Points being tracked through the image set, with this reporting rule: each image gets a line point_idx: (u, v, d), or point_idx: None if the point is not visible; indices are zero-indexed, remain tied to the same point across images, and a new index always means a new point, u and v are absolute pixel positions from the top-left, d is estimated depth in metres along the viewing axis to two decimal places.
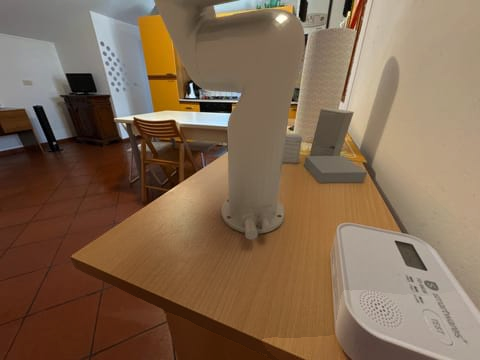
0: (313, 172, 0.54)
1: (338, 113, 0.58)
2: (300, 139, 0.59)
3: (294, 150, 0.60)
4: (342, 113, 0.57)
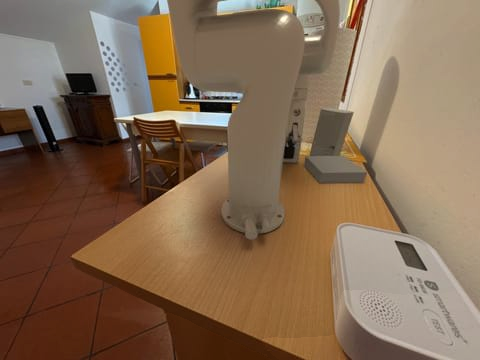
0: (313, 172, 0.54)
1: (338, 113, 0.58)
2: (300, 139, 0.59)
3: None
4: (342, 113, 0.57)
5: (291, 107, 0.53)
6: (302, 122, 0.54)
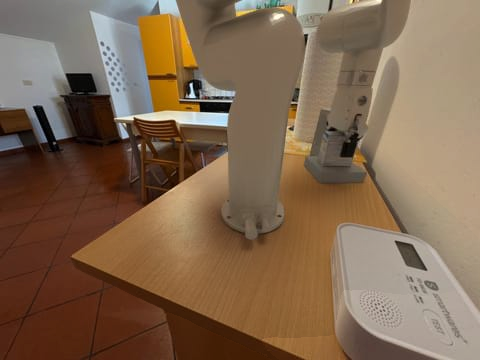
0: (313, 172, 0.54)
1: None
2: None
3: None
4: None
5: (356, 94, 0.42)
6: (367, 113, 0.44)
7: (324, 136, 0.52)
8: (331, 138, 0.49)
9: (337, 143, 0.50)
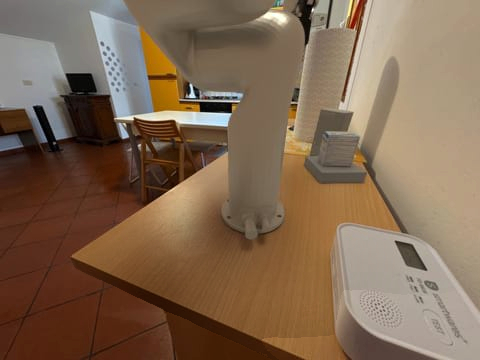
0: (313, 172, 0.54)
1: (338, 113, 0.58)
2: (358, 138, 0.49)
3: (348, 152, 0.51)
4: (342, 113, 0.57)
5: None
6: None
7: (324, 136, 0.52)
8: (331, 138, 0.49)
9: (337, 143, 0.50)
